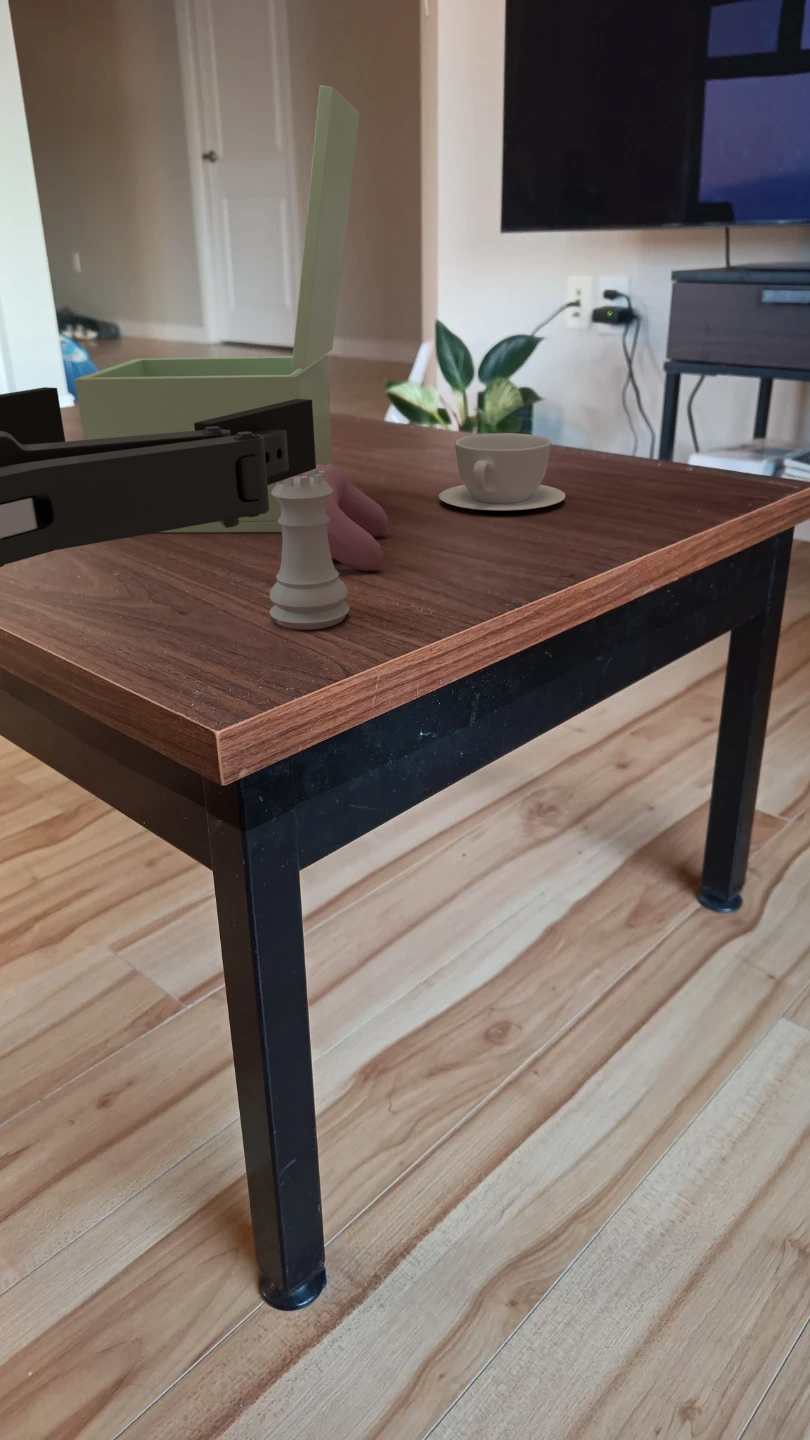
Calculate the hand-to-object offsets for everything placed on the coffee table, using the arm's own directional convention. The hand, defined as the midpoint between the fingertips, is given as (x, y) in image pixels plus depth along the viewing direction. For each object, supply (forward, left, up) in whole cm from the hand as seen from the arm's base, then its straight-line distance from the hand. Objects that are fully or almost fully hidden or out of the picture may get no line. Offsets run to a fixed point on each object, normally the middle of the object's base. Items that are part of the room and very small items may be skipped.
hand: (173, 425), depth 44 cm
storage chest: (-20, +29, -12) cm, 37 cm away
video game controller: (-5, +22, -12) cm, 25 cm away
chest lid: (-12, +32, +8) cm, 35 cm away
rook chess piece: (0, +10, -12) cm, 15 cm away
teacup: (-1, +40, -12) cm, 42 cm away
